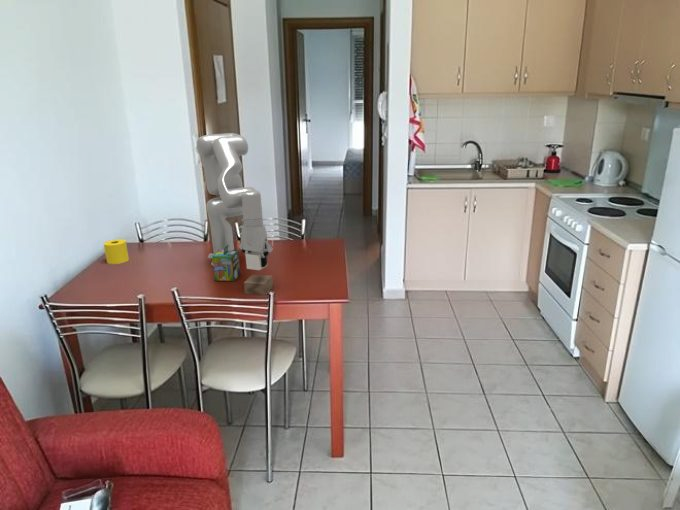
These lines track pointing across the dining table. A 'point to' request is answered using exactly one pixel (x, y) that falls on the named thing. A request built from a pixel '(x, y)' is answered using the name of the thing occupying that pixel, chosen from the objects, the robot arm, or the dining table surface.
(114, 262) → the tape roll
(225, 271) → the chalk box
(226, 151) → the robot arm
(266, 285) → the walnut block
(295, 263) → the dining table surface
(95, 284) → the dining table surface
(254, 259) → the cream cube
